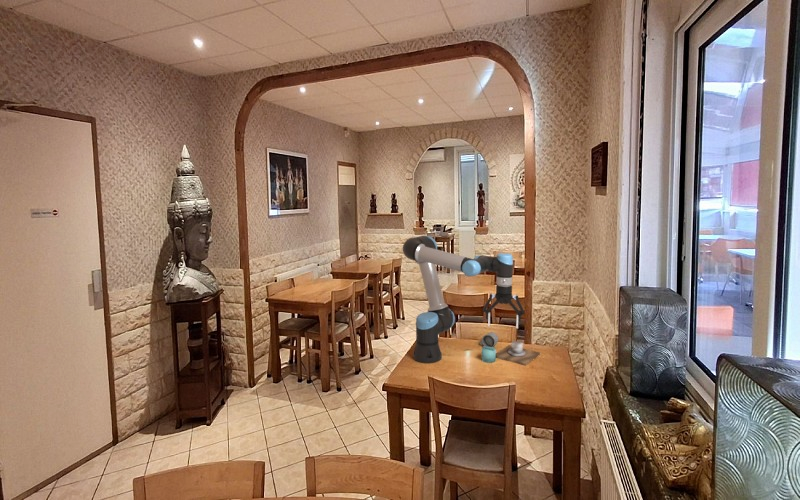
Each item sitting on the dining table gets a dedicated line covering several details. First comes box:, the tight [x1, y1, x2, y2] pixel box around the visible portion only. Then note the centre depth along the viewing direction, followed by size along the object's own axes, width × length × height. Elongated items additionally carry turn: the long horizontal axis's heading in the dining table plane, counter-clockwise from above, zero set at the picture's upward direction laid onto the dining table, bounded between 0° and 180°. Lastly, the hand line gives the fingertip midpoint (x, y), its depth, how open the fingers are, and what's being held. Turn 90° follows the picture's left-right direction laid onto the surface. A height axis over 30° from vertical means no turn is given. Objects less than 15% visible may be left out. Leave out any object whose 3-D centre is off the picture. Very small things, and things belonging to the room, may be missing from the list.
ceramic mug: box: [478, 331, 499, 348], centre depth 237 cm, size 11×8×8 cm
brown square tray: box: [496, 340, 541, 367], centre depth 221 cm, size 18×18×7 cm
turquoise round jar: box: [481, 345, 497, 364], centre depth 216 cm, size 7×7×7 cm
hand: (502, 326), depth 207 cm, fingers open, 13 cm apart
